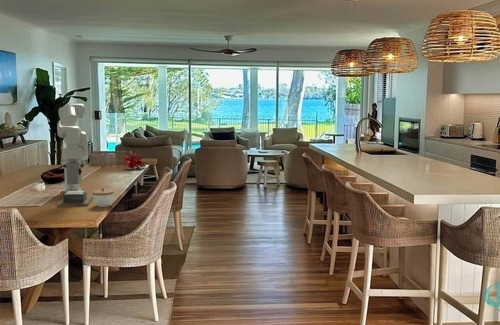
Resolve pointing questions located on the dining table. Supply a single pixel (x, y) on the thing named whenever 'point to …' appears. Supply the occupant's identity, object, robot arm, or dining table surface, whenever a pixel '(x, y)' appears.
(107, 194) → the lidded bowl
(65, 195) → the stand
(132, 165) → the sculptural form
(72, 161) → the perfume bottle
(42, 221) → the dining table surface
